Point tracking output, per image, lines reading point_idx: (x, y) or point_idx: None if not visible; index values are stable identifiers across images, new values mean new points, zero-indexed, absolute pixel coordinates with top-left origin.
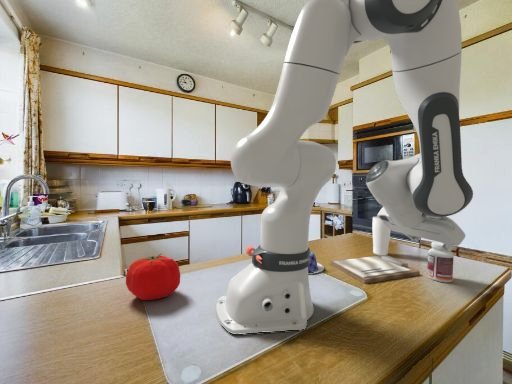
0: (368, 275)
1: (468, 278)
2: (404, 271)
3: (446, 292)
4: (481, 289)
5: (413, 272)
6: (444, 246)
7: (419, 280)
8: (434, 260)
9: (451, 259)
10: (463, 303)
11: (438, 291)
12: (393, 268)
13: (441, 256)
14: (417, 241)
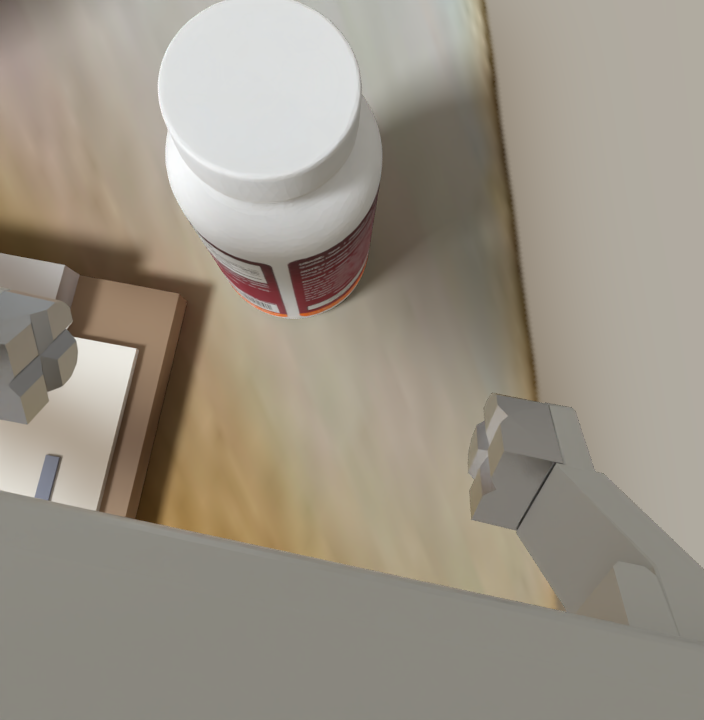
0: None
1: (387, 68)
2: (120, 418)
3: (421, 451)
4: (500, 198)
5: (164, 357)
6: (504, 526)
7: (237, 409)
8: (273, 277)
9: (378, 187)
10: None
11: (389, 484)
12: (40, 452)
13: (323, 248)
14: (70, 361)
